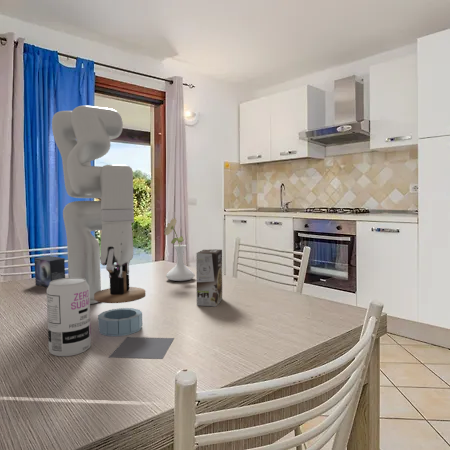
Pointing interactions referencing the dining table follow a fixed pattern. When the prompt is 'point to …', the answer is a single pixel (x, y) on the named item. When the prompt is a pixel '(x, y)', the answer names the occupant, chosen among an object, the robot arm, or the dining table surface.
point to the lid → (128, 295)
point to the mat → (142, 348)
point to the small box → (48, 270)
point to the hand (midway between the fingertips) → (120, 291)
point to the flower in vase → (178, 258)
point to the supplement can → (68, 316)
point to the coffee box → (209, 277)
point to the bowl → (120, 321)
